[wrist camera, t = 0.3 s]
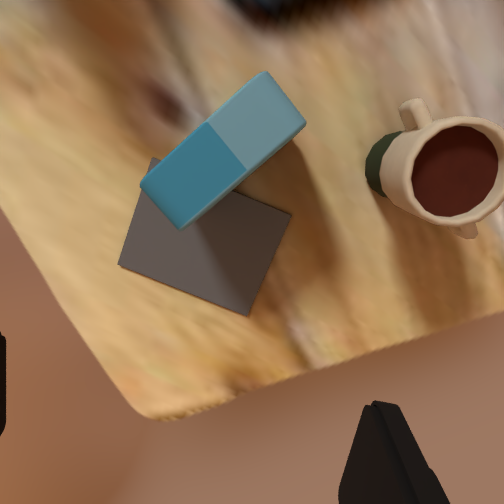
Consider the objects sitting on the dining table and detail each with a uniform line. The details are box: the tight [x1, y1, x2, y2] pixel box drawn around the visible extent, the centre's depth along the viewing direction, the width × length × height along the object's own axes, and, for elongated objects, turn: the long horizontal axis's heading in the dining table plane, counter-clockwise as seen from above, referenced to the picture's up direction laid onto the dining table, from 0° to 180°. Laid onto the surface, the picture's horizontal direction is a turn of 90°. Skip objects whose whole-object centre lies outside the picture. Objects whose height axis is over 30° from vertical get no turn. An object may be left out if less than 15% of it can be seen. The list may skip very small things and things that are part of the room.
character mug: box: [365, 98, 504, 239], centre depth 30 cm, size 11×7×13 cm, turn 29°
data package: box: [140, 71, 306, 231], centre depth 31 cm, size 12×4×12 cm, turn 130°
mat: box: [118, 158, 291, 316], centre depth 39 cm, size 12×15×1 cm
